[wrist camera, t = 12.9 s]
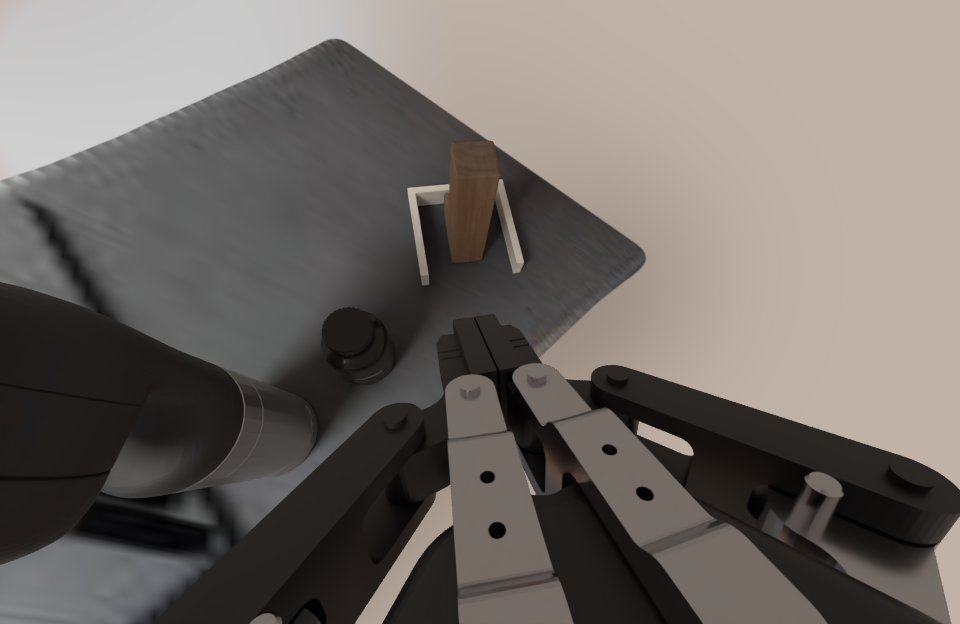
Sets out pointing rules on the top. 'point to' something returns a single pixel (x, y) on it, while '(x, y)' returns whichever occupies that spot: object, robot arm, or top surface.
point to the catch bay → (436, 196)
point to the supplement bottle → (357, 346)
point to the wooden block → (470, 198)
